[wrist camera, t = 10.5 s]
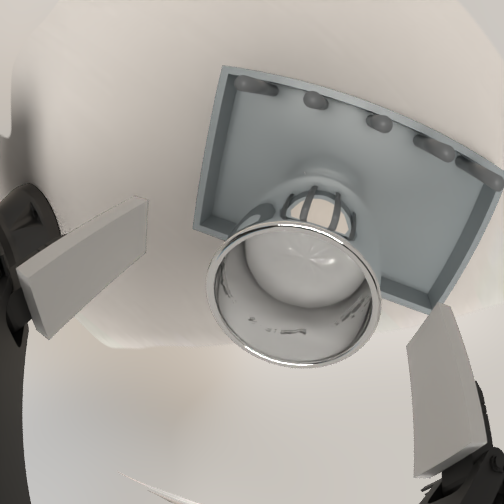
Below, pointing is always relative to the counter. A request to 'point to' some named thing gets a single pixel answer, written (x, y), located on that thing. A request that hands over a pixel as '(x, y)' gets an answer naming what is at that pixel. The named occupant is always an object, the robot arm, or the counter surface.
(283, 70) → the counter surface
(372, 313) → the beer glass
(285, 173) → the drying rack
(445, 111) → the counter surface
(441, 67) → the counter surface
